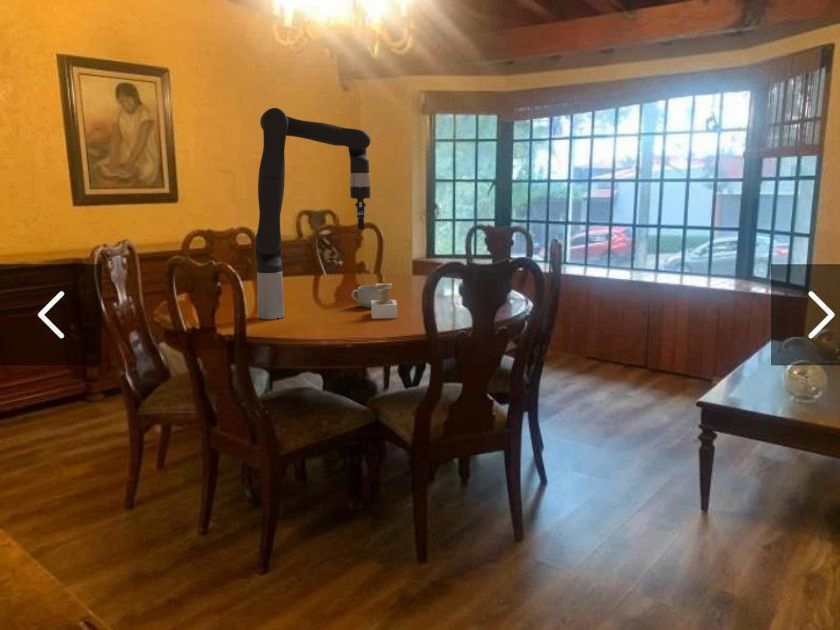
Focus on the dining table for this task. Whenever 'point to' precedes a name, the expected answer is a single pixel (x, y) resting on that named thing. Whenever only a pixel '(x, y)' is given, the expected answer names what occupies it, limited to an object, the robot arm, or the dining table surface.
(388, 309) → the well
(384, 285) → the bracket
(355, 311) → the dining table surface
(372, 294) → the teacup
